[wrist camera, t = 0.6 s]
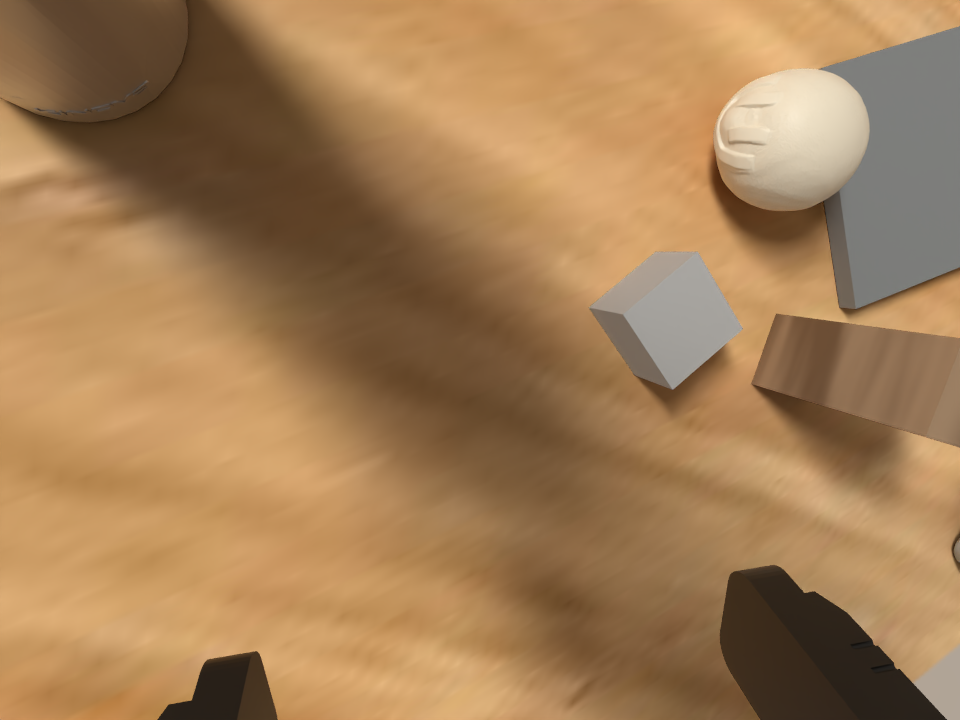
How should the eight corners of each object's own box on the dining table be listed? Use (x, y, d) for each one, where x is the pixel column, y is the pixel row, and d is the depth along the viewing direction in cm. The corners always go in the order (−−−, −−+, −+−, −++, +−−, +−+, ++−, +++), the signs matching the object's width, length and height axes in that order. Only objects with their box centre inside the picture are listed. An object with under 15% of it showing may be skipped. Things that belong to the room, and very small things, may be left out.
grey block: (587, 307, 33) (622, 314, 29) (654, 251, 33) (697, 251, 30) (633, 374, 34) (672, 389, 31) (696, 320, 35) (743, 329, 31)
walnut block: (751, 384, 36) (925, 436, 26) (776, 313, 36) (963, 338, 26) (806, 401, 38) (993, 457, 27) (831, 333, 37) (1030, 364, 27)
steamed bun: (704, 68, 32) (799, 23, 26) (808, 112, 34) (920, 80, 28) (669, 192, 33) (753, 178, 27) (773, 227, 35) (874, 222, 29)
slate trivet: (805, 74, 34) (822, 68, 33) (991, 17, 36) (1013, 10, 35) (839, 307, 37) (855, 308, 36) (1007, 240, 40) (1027, 239, 39)
